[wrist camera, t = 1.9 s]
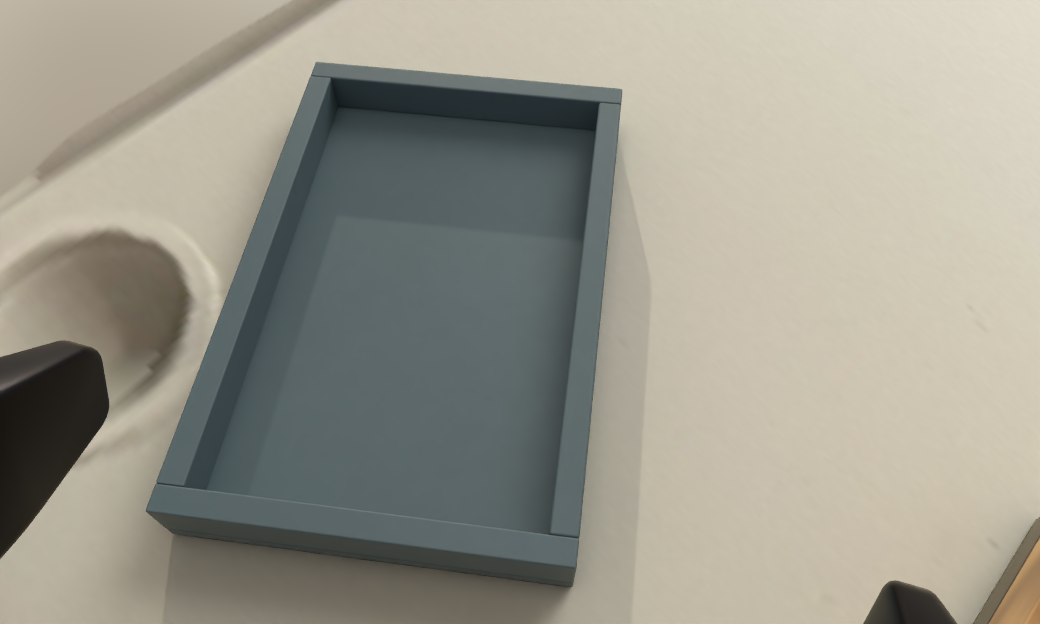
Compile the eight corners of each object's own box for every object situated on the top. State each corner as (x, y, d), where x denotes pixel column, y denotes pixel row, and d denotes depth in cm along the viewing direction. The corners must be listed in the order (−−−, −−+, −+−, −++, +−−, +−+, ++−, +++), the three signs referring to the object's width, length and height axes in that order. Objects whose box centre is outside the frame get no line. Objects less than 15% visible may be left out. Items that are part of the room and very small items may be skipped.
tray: (572, 587, 23) (576, 568, 21) (171, 533, 24) (144, 511, 22) (617, 127, 32) (622, 88, 31) (326, 100, 33) (315, 61, 31)
